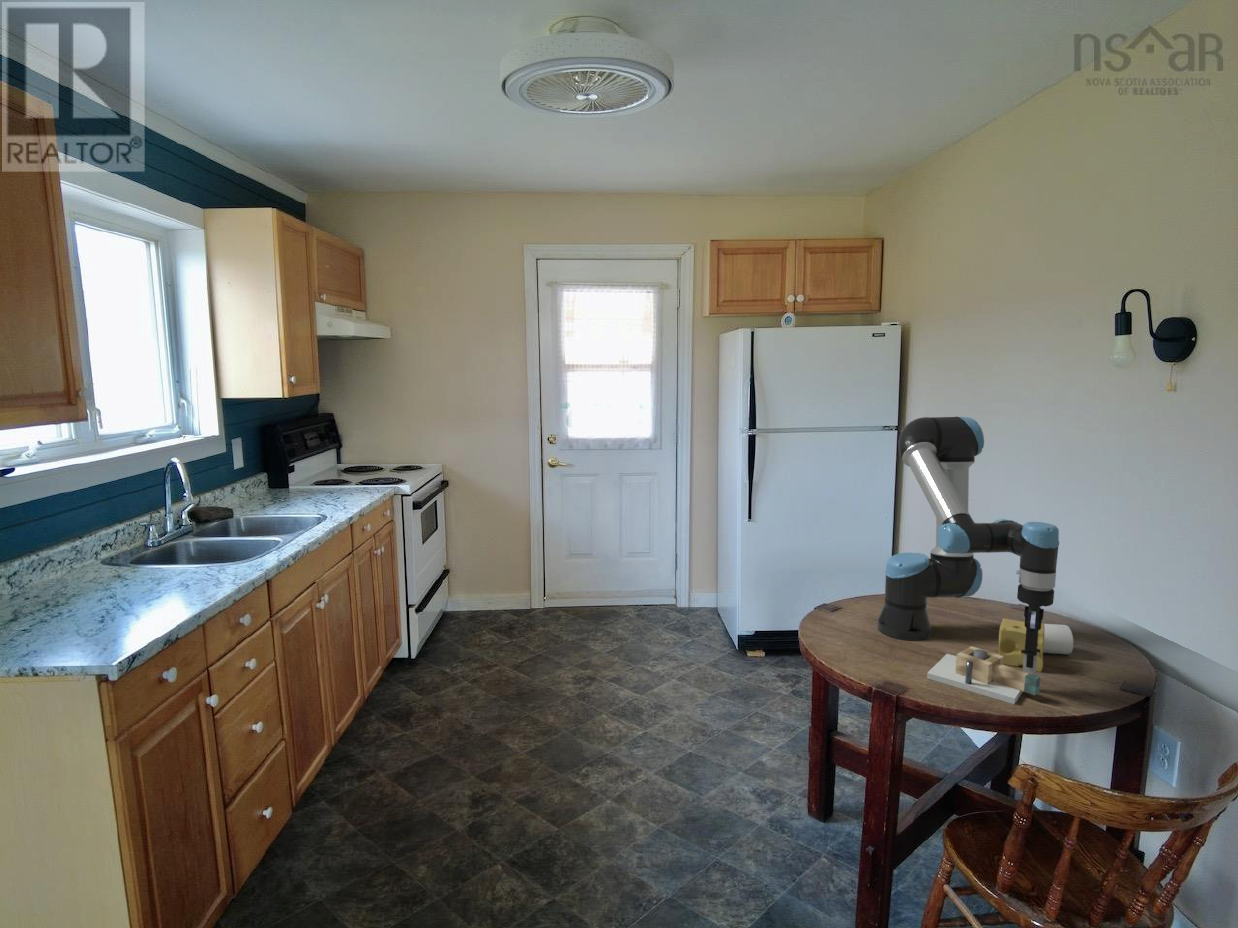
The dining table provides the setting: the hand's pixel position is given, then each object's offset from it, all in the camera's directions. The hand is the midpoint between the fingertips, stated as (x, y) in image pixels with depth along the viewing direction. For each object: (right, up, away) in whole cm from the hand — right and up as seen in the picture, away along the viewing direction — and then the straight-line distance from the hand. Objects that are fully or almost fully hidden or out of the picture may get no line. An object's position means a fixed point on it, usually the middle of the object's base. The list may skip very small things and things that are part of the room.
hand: (1028, 677), depth 166 cm
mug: (+19, 0, +24) cm, 30 cm away
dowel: (-14, -2, +1) cm, 15 cm away
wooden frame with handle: (-6, -1, +2) cm, 7 cm away
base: (-10, -2, +6) cm, 11 cm away
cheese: (+8, -1, +16) cm, 18 cm away
